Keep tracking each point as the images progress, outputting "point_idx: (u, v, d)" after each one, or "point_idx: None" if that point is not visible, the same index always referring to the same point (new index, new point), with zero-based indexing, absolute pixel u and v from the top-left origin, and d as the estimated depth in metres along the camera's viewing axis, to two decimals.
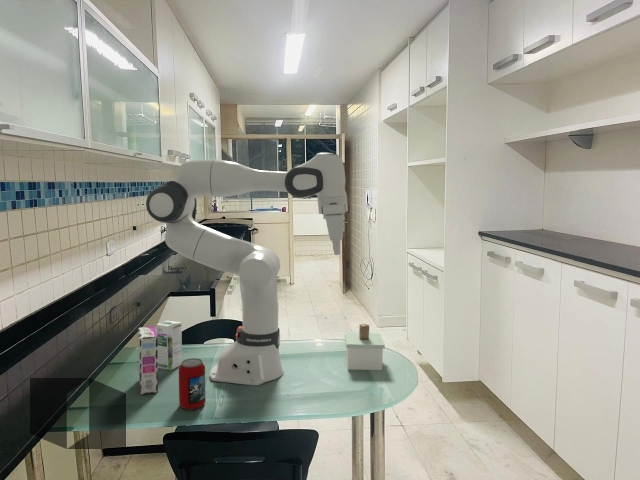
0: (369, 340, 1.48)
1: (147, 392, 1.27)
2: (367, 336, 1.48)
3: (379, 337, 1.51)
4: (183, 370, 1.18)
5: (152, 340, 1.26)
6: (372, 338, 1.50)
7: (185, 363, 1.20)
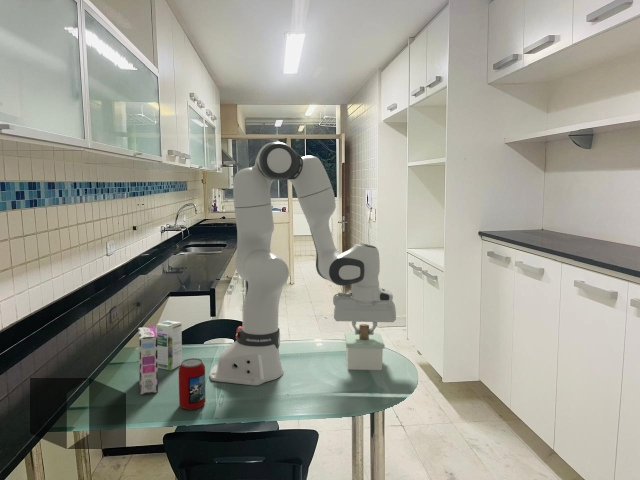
0: (369, 340, 1.48)
1: (147, 392, 1.27)
2: (366, 336, 1.48)
3: (379, 337, 1.51)
4: (183, 370, 1.18)
5: (152, 340, 1.26)
6: (372, 338, 1.50)
7: (185, 363, 1.20)
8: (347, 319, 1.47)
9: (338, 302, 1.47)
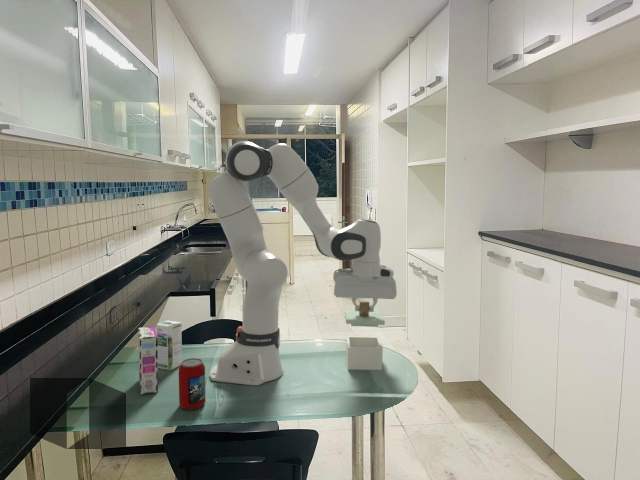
0: (369, 317, 1.47)
1: (147, 392, 1.27)
2: (366, 313, 1.47)
3: (379, 314, 1.50)
4: (183, 370, 1.18)
5: (152, 340, 1.26)
6: (372, 315, 1.49)
7: (185, 363, 1.20)
8: (347, 295, 1.46)
9: (338, 278, 1.46)
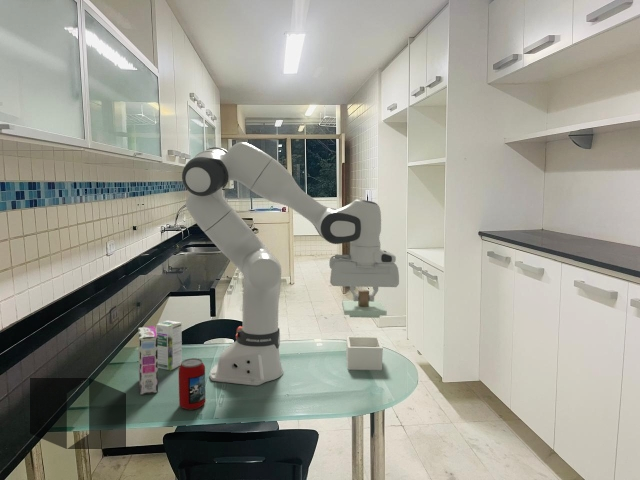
0: (369, 307, 1.34)
1: (147, 392, 1.27)
2: (366, 303, 1.34)
3: (380, 304, 1.37)
4: (183, 370, 1.18)
5: (152, 340, 1.26)
6: (372, 305, 1.35)
7: (185, 363, 1.20)
8: (345, 283, 1.33)
9: (335, 265, 1.32)
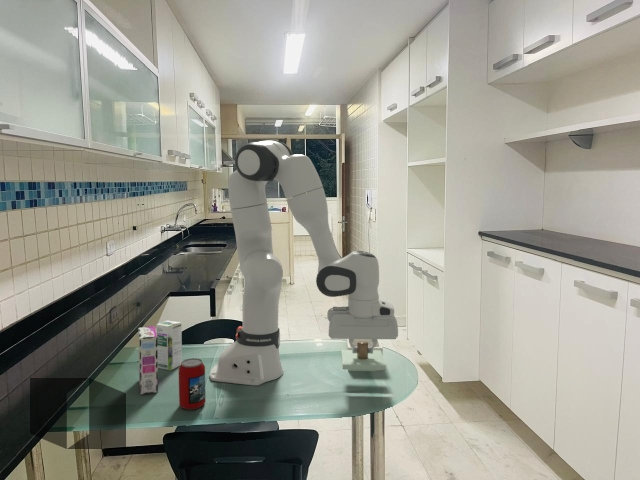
0: (368, 359, 1.32)
1: (147, 392, 1.27)
2: (365, 355, 1.32)
3: (379, 355, 1.35)
4: (183, 370, 1.18)
5: (152, 340, 1.26)
6: (371, 357, 1.34)
7: (185, 363, 1.20)
8: (343, 336, 1.31)
9: (333, 317, 1.31)
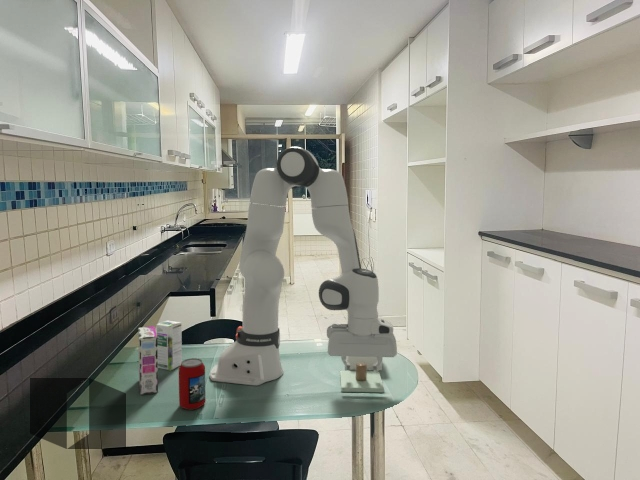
0: (367, 381, 1.33)
1: (147, 392, 1.27)
2: (364, 377, 1.33)
3: (378, 377, 1.36)
4: (183, 370, 1.18)
5: (152, 340, 1.26)
6: (370, 379, 1.35)
7: (185, 363, 1.20)
8: (342, 353, 1.32)
9: (332, 335, 1.32)
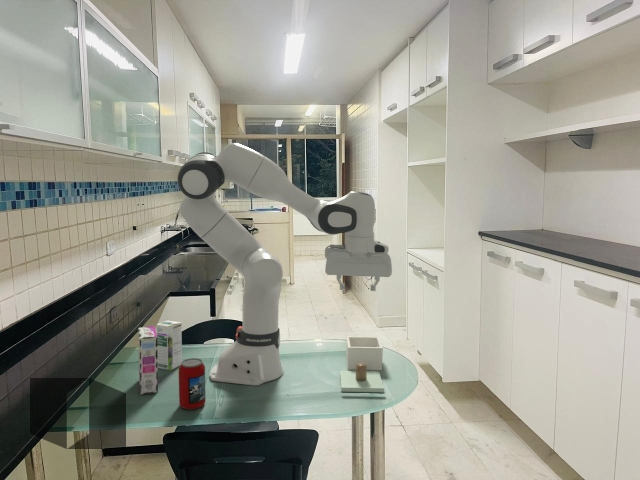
0: (367, 381, 1.33)
1: (147, 392, 1.27)
2: (364, 377, 1.33)
3: (378, 377, 1.36)
4: (183, 370, 1.18)
5: (152, 340, 1.26)
6: (370, 379, 1.35)
7: (185, 363, 1.20)
8: (339, 272, 1.37)
9: (330, 254, 1.37)
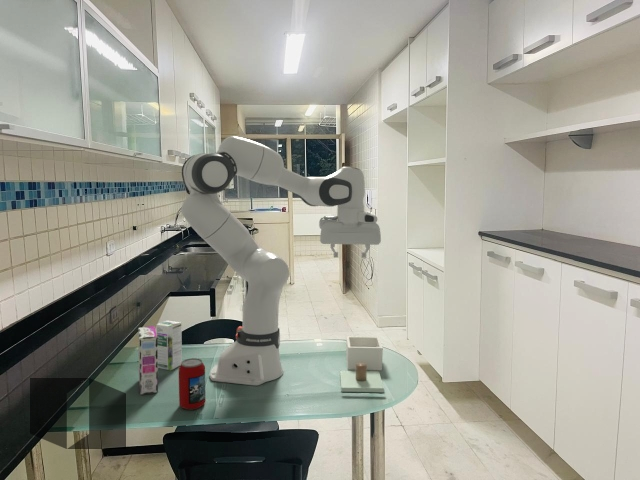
0: (367, 381, 1.33)
1: (147, 392, 1.27)
2: (364, 377, 1.33)
3: (378, 377, 1.36)
4: (183, 370, 1.18)
5: (152, 340, 1.26)
6: (370, 379, 1.35)
7: (185, 363, 1.20)
8: (333, 241, 1.51)
9: (324, 225, 1.50)
